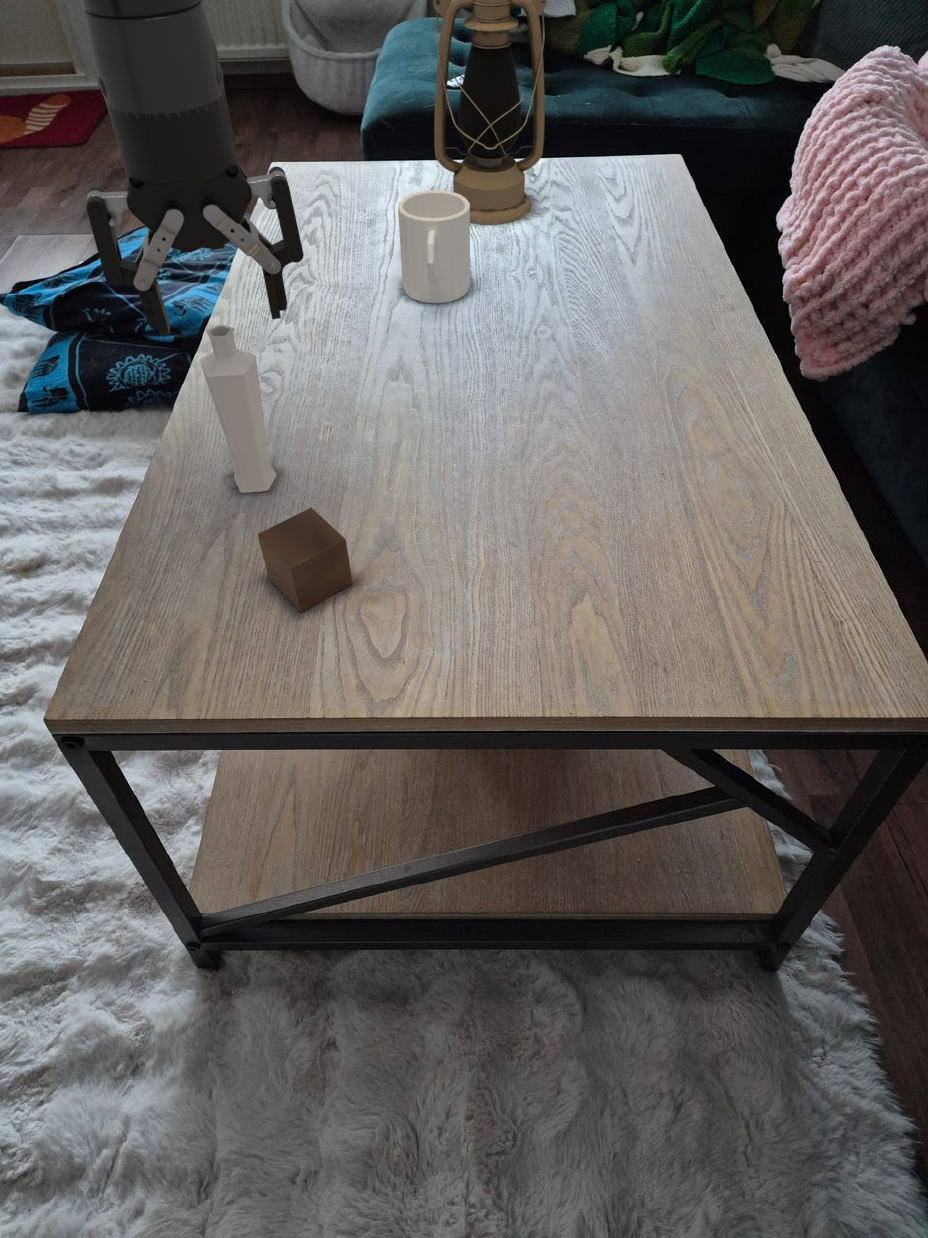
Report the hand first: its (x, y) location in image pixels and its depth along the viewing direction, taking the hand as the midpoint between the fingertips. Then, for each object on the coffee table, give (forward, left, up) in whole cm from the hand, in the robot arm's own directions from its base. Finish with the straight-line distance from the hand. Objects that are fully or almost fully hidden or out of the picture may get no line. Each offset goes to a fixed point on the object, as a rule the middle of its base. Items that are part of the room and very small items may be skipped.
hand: (220, 321), depth 67 cm
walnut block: (+3, -14, -16) cm, 21 cm away
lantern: (+37, +53, -16) cm, 67 cm away
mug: (+24, +30, -16) cm, 42 cm away
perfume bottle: (0, 0, -16) cm, 16 cm away
